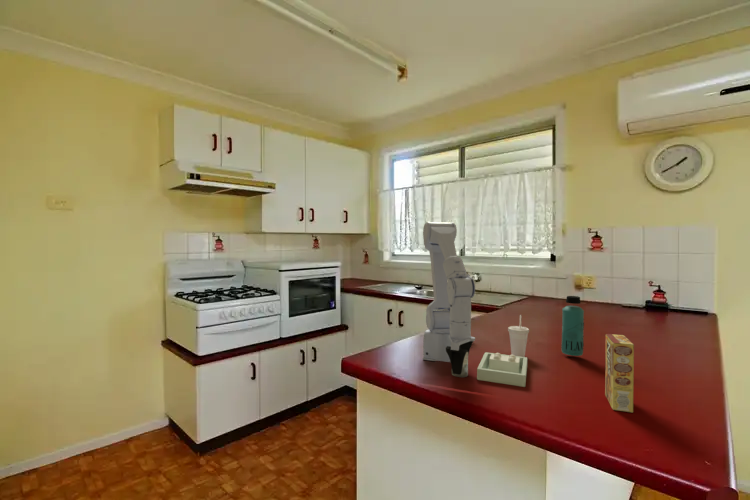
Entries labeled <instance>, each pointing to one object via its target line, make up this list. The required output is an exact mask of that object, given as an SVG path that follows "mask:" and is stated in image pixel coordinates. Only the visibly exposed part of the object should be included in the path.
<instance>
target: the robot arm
mask: <svg viewBox="0 0 750 500" xmlns="http://www.w3.org/2000/svg"><path fill="white" fill-rule="evenodd" d="M422 230H423V231H422V236H423V237H422V238H423V246H424V249H425V250H427V251H428V252H429V257H430V266H431V280H432V290H433V301H431V302H430V303H429V304H428V305H427V307H426V309H425V310H426V311H425V312H426V314H425V324H426V328H427V329H425V331H424V333H423V340H422V341H423V343H422V344H423V345H422V347H423V349H422V350H423V353H422V355H423V357H422V360H425V361H431V362H436V361H438V362H439V361H440V362H444V363H446V362H447V363H450V367H451V373H452V372H453V374H459V375H461V372H462V368H463V361H464V358H465V355H466V353H467V351H468V356H470V355H469V354H470V351H471V347H472V345H473V343H474V342H475V341H476V337H474V336H472V334H471V333H472V330H471V329H472V298H473V297H474V296H475V293H476V283H475V279H474V278H473V277H472V276H470V274H468V273H467V271H466V268H465V267H466V266H465V265H464V262H463V259H462V258H461V257H460V256H458V255H457V250H456V245H455V241H456V238H457V234H458V229H457V225H456V224H455V222H454V221H450V222H446V221H445V222H443V221H442V222H439V221H438V222H437V221H433V222H432V221H431V222H430V221H425V223H424V224H423V229H422Z"/></svg>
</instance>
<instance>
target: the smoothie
mask: <svg viewBox="0 0 750 500" xmlns="http://www.w3.org/2000/svg"><path fill="white" fill-rule="evenodd" d="M507 331H508V334H509V342H510V352H511V355H515V356H520V357H525V355H526V349H527V343H528V335H529V333H530V329H529V328H528V327H526V326H522V314H519V325H510V326H508V327H507Z"/></svg>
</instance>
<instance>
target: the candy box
mask: <svg viewBox="0 0 750 500" xmlns="http://www.w3.org/2000/svg"><path fill="white" fill-rule="evenodd" d="M604 348H605V349H604V350H605V352H604V354H605V358H604V359H605V367H604V369H605V374H604V375H605V377H604V378H605V379H604V380H605V382H604V383H605V385H604V388H605V389H604V396H605V398H606V399H607V401H608V403H609V405H610V407H611V409H612V410H613V411H617V412H618V411H619V412H627V413H634V375H635V372H634V371H635V370H634V367H635V365H634V363H635V361H634V359H635V344H634V343H633V342H632V341H631V340H630V339H629V338H627V337H626V336H625V335H623V334H612V333H606V334H605V347H604Z"/></svg>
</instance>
